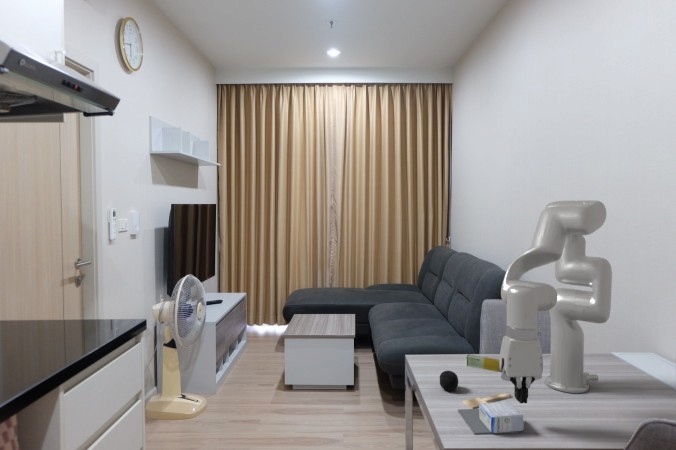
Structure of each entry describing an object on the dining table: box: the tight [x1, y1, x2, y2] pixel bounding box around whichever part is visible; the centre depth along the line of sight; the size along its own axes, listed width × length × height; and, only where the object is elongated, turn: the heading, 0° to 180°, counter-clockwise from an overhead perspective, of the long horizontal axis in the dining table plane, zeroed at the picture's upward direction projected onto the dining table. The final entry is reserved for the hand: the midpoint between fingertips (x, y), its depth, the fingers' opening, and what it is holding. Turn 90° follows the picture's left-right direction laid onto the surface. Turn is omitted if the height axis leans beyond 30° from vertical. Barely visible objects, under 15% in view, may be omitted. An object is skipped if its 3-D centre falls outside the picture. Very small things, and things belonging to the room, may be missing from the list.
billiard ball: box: [438, 370, 459, 392], centre depth 139 cm, size 6×6×6 cm
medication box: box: [466, 353, 502, 373], centre depth 158 cm, size 12×3×4 cm, turn 59°
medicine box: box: [478, 401, 524, 434], centre depth 116 cm, size 8×4×9 cm
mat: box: [457, 408, 521, 435], centre depth 119 cm, size 12×13×1 cm
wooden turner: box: [462, 392, 512, 409], centre depth 131 cm, size 16×4×1 cm, turn 113°
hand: (521, 400), depth 116 cm, fingers closed
